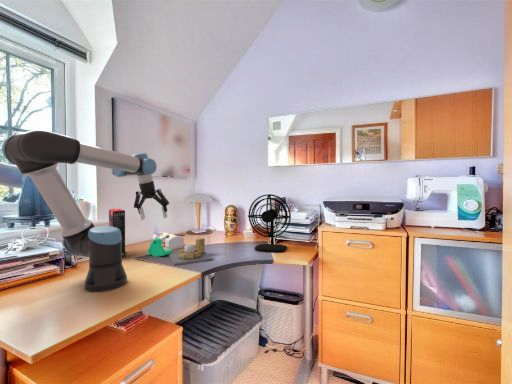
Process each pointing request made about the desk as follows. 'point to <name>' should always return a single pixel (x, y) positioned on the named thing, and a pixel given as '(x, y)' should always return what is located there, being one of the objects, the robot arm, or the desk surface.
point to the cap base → (180, 261)
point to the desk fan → (268, 217)
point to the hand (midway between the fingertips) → (154, 218)
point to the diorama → (169, 239)
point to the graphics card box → (118, 224)
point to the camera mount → (157, 248)
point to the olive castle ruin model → (199, 249)
